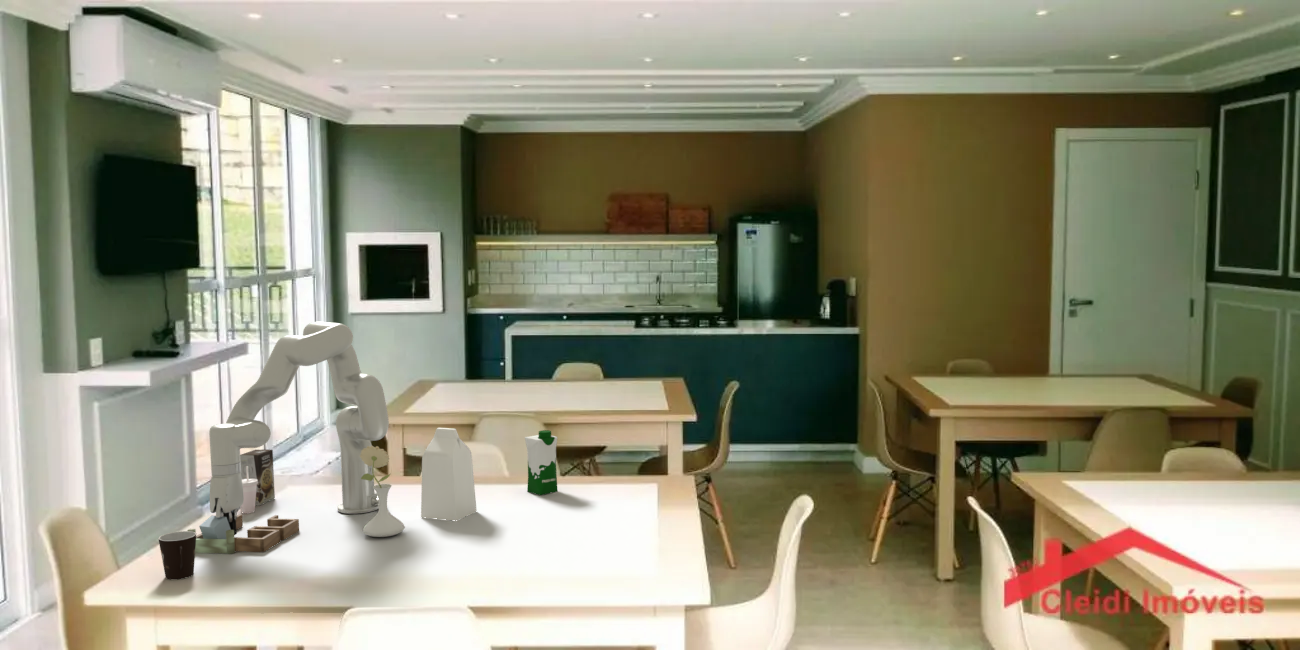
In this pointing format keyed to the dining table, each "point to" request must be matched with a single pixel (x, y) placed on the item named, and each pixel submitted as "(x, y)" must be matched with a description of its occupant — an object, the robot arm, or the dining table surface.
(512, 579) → the dining table surface
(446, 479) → the milk
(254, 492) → the smoothie
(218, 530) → the block
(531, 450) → the milk carton
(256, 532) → the brown open tray piece
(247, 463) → the coffee box
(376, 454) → the flower in vase
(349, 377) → the robot arm
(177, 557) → the coffee mug
